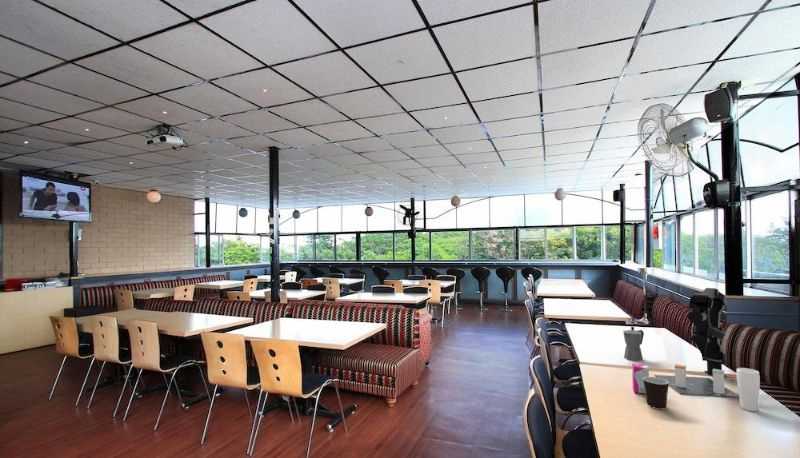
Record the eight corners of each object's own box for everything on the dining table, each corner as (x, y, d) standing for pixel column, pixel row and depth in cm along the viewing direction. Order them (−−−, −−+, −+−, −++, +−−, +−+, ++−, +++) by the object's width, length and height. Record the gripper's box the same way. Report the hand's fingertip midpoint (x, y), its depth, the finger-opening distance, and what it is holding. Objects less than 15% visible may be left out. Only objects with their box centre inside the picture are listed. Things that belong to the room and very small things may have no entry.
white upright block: (714, 390, 169) (713, 368, 170) (725, 392, 167) (724, 370, 167) (713, 392, 167) (712, 370, 168) (724, 394, 164) (723, 372, 165)
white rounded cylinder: (765, 413, 147) (763, 373, 148) (745, 412, 149) (743, 372, 149) (753, 406, 154) (751, 368, 155) (733, 405, 155) (732, 367, 156)
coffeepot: (633, 362, 212) (632, 329, 213) (617, 358, 220) (616, 326, 221) (652, 359, 218) (651, 327, 219) (636, 355, 226) (635, 324, 227)
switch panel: (654, 375, 190) (654, 374, 190) (708, 378, 186) (708, 377, 186) (680, 394, 166) (680, 393, 166) (743, 398, 162) (743, 397, 162)
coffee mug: (661, 412, 149) (660, 385, 149) (639, 403, 157) (638, 378, 157) (678, 406, 154) (677, 380, 155) (655, 398, 162) (655, 374, 162)
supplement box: (647, 390, 171) (646, 364, 171) (649, 395, 165) (649, 368, 166) (632, 388, 173) (631, 362, 174) (634, 393, 168) (633, 366, 168)
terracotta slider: (676, 384, 177) (675, 363, 177) (686, 386, 174) (685, 365, 174) (675, 386, 174) (674, 365, 175) (685, 388, 172) (684, 367, 172)
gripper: (721, 326, 170) (722, 362, 169) (726, 320, 183) (727, 353, 182) (690, 322, 178) (691, 357, 177) (697, 317, 191) (698, 349, 190)
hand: (703, 354), depth 181 cm, fingers closed
